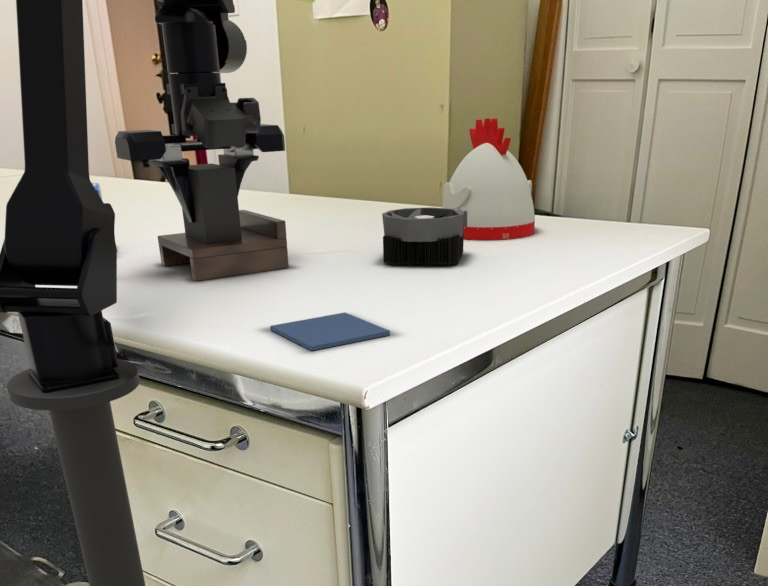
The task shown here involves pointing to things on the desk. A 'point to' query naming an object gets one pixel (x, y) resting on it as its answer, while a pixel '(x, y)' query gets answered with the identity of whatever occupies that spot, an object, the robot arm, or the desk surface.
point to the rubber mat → (329, 331)
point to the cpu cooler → (423, 235)
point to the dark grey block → (213, 204)
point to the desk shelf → (231, 249)
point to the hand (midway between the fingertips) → (211, 220)
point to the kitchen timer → (491, 188)
